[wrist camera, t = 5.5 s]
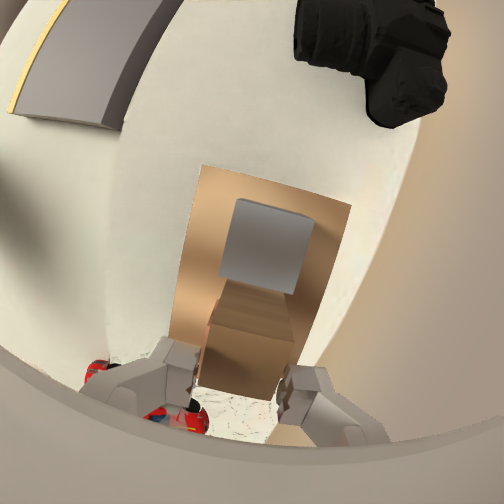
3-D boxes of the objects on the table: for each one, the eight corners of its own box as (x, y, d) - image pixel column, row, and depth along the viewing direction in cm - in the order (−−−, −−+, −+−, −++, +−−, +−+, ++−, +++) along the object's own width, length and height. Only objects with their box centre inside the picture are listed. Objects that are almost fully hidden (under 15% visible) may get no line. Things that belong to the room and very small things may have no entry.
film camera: (292, -15, 15) (303, -78, 6) (390, 7, 15) (428, -40, 6) (290, 122, 18) (312, 72, 9) (406, 142, 18) (478, 123, 9)
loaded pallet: (287, 362, 22) (301, 470, 11) (175, 334, 22) (122, 431, 11) (340, 203, 19) (429, 219, 8) (209, 167, 19) (145, 139, 8)
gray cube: (285, 272, 18) (292, 294, 14) (226, 257, 18) (217, 276, 14) (302, 214, 17) (315, 220, 13) (241, 197, 17) (236, 199, 13)
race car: (218, 406, 23) (211, 435, 19) (202, 434, 24) (194, 461, 20) (97, 347, 22) (76, 367, 18) (93, 382, 23) (75, 402, 20)
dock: (119, 130, 18) (99, 123, 15) (25, 116, 18) (5, 112, 15) (197, -19, 15) (191, -38, 12) (91, -10, 14) (79, -22, 11)
